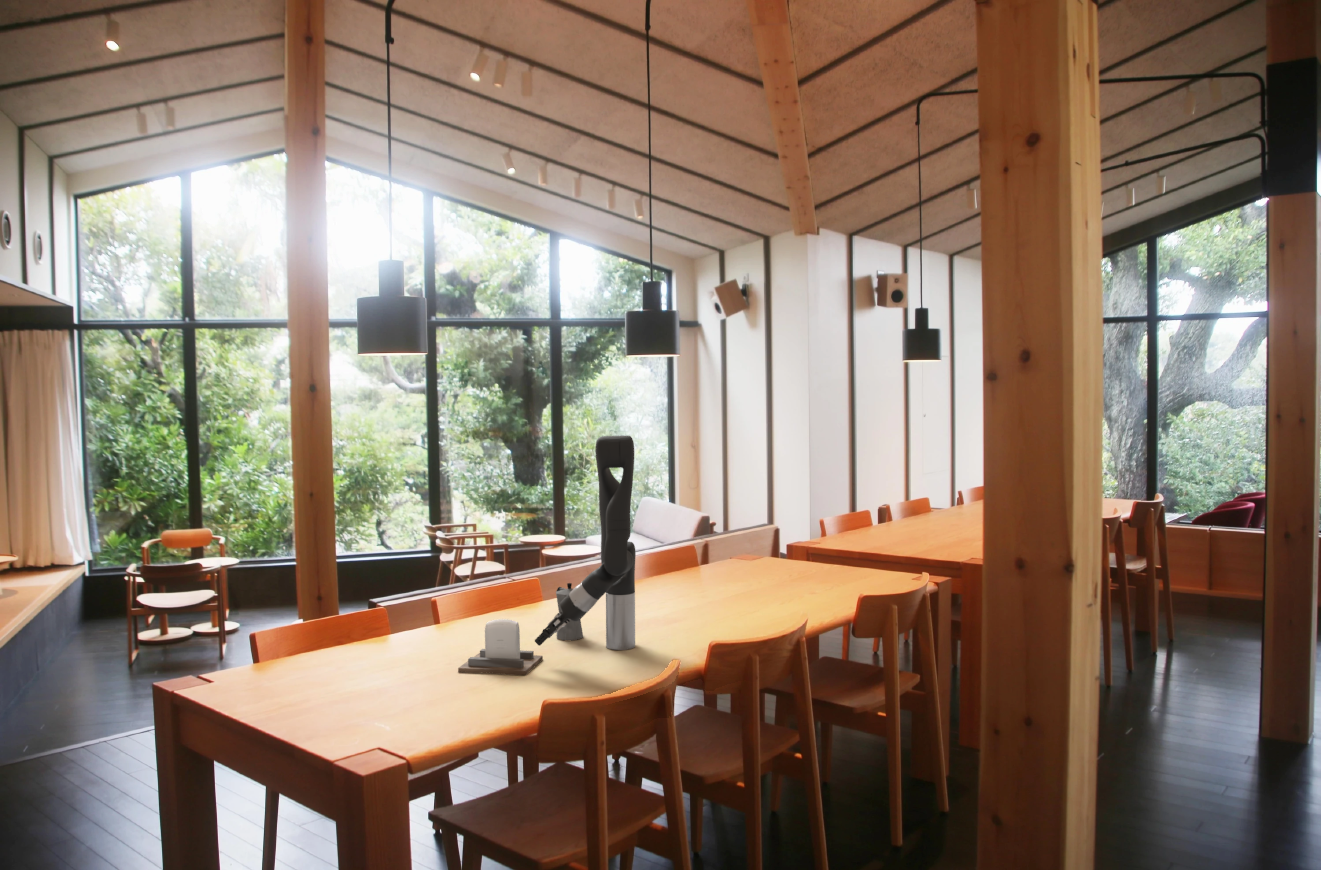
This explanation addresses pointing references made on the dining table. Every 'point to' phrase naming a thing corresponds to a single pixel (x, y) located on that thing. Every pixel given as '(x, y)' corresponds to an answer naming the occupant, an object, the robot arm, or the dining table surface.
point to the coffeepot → (572, 628)
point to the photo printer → (502, 639)
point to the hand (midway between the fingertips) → (541, 639)
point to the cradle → (501, 664)
